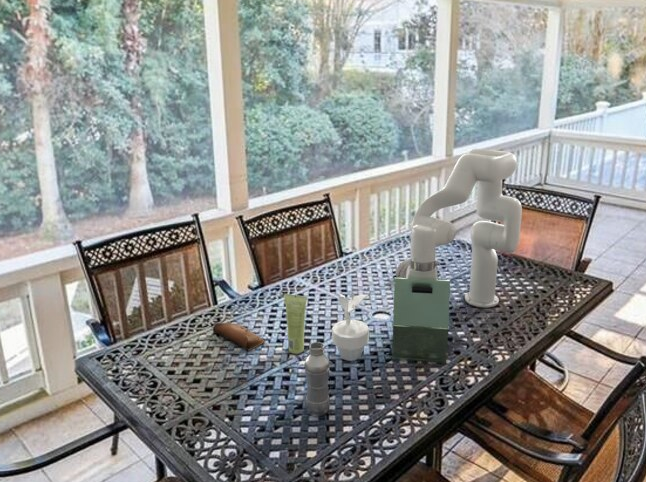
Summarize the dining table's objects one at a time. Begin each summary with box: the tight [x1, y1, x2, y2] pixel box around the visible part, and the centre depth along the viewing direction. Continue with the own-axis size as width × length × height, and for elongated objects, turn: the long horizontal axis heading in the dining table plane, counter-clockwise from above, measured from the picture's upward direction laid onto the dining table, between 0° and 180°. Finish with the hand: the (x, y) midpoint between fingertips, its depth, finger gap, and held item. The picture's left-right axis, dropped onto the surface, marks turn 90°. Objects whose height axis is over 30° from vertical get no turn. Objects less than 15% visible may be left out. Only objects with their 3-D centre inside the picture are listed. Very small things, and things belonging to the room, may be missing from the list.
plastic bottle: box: [304, 341, 331, 417], centre depth 140 cm, size 6×7×20 cm
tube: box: [283, 293, 308, 355], centre depth 169 cm, size 6×5×20 cm
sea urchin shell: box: [395, 259, 410, 278], centre depth 223 cm, size 13×14×8 cm
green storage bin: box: [391, 324, 449, 364], centre depth 170 cm, size 14×17×12 cm
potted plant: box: [331, 289, 370, 362], centre depth 165 cm, size 13×12×25 cm
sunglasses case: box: [212, 322, 266, 352], centre depth 179 cm, size 18×7×7 cm
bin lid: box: [392, 277, 451, 329], centre depth 160 cm, size 14×17×5 cm
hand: (420, 316), depth 170 cm, fingers closed on supplement box, 4 cm apart
